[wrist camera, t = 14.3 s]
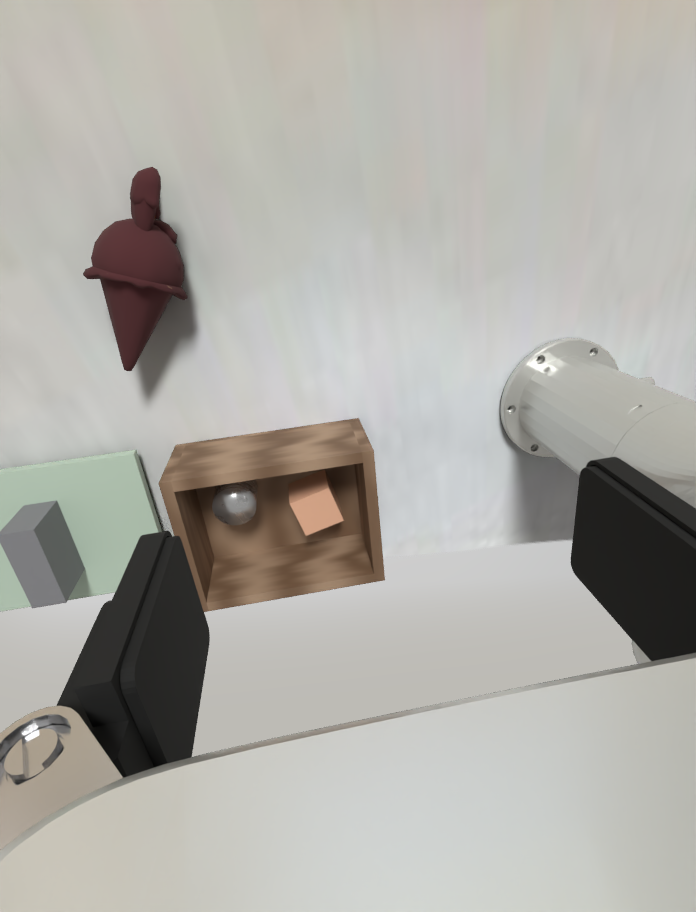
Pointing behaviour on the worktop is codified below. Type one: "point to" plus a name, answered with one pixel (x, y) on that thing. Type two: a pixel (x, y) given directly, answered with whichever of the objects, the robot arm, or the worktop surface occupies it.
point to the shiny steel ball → (235, 502)
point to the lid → (70, 527)
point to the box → (275, 514)
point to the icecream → (138, 268)
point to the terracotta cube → (315, 502)
